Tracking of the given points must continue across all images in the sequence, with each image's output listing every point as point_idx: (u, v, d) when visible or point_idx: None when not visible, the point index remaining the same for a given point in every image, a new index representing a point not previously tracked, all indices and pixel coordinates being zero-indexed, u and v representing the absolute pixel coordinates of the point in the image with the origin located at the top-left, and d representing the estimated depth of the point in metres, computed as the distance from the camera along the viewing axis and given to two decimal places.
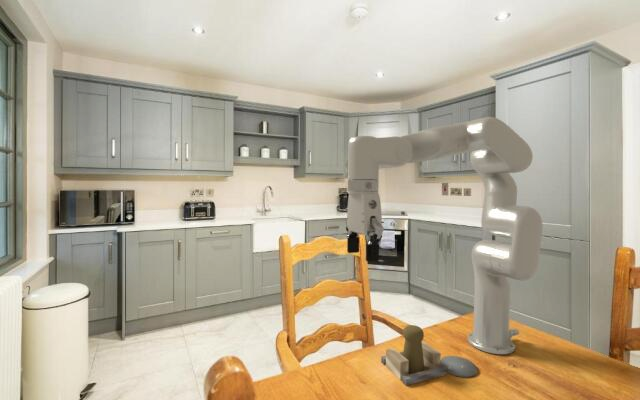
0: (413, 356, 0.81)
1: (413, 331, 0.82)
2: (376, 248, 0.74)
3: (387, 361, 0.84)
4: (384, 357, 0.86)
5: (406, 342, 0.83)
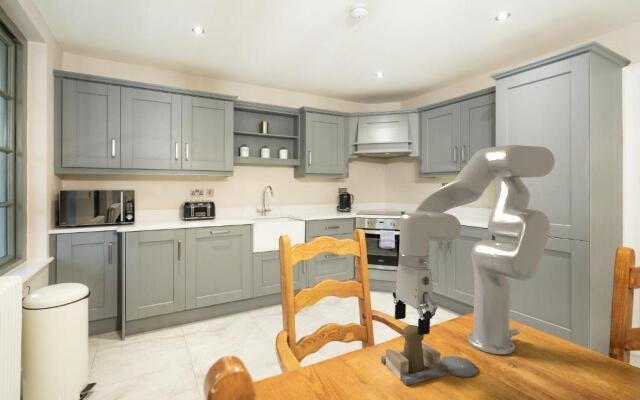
0: (413, 356, 0.81)
1: (413, 331, 0.82)
2: (428, 323, 0.78)
3: (387, 361, 0.84)
4: (384, 357, 0.86)
5: (406, 342, 0.83)
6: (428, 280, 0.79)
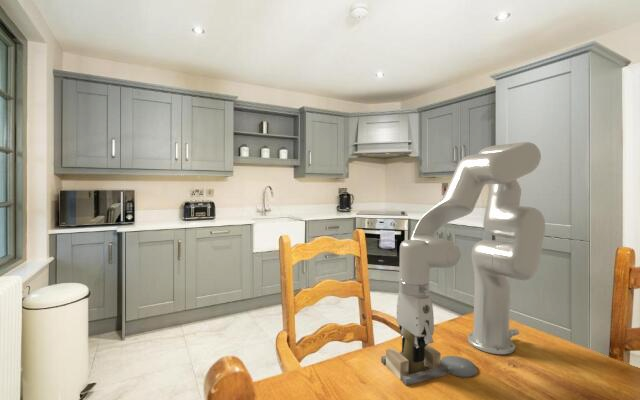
0: None
1: None
2: (422, 350, 0.81)
3: (387, 361, 0.84)
4: (384, 357, 0.86)
5: (406, 342, 0.83)
6: (429, 308, 0.79)
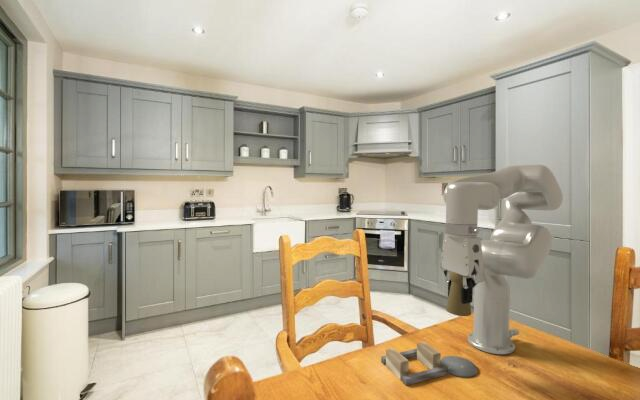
0: None
1: None
2: (471, 291, 0.81)
3: (387, 361, 0.84)
4: (384, 357, 0.86)
5: (453, 284, 0.83)
6: (478, 248, 0.79)
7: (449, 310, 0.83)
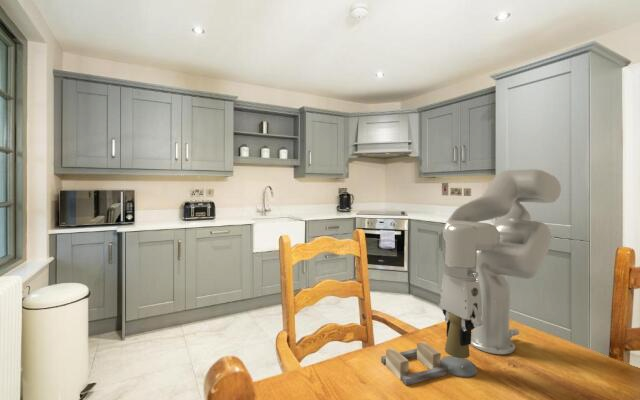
0: None
1: None
2: (470, 334, 0.81)
3: (387, 361, 0.84)
4: (384, 357, 0.86)
5: (452, 325, 0.83)
6: (477, 291, 0.79)
7: (448, 351, 0.83)
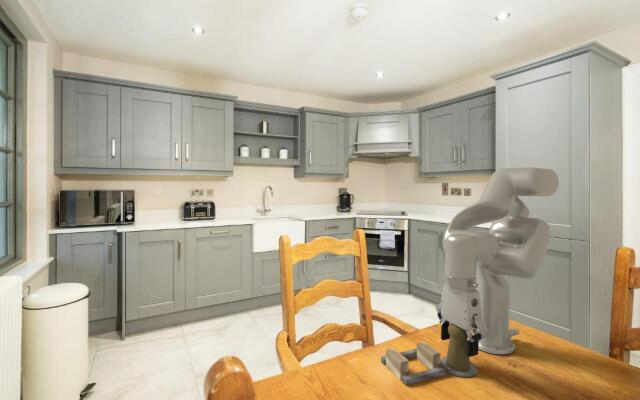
0: (460, 353, 0.82)
1: (459, 328, 0.82)
2: (477, 344, 0.79)
3: (387, 361, 0.84)
4: (384, 357, 0.86)
5: (452, 339, 0.83)
6: (477, 302, 0.80)
7: (449, 365, 0.83)
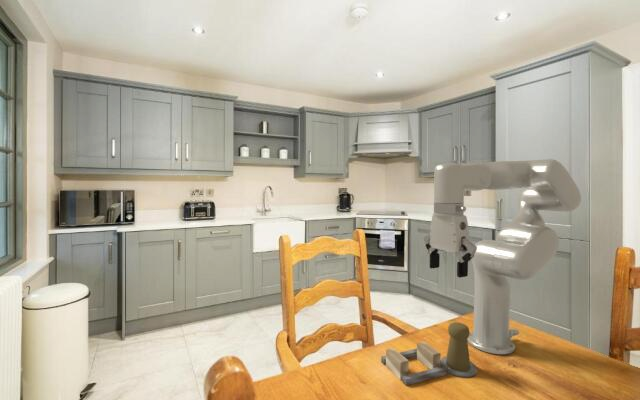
0: (460, 353, 0.82)
1: (459, 328, 0.82)
2: (467, 265, 0.82)
3: (387, 361, 0.84)
4: (384, 357, 0.86)
5: (452, 339, 0.83)
6: (465, 225, 0.83)
7: (449, 365, 0.83)
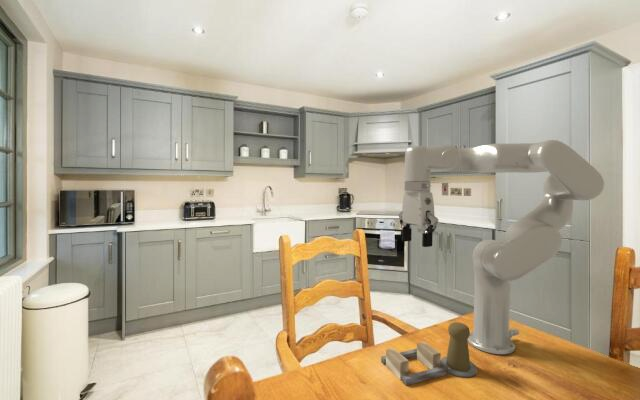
0: (460, 353, 0.82)
1: (460, 328, 0.82)
2: (431, 236, 0.92)
3: (387, 361, 0.84)
4: (384, 357, 0.86)
5: (452, 339, 0.83)
6: (430, 201, 0.93)
7: (449, 365, 0.83)
